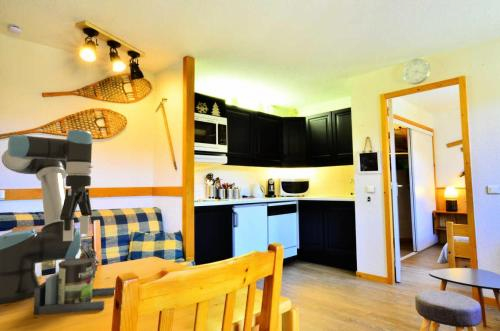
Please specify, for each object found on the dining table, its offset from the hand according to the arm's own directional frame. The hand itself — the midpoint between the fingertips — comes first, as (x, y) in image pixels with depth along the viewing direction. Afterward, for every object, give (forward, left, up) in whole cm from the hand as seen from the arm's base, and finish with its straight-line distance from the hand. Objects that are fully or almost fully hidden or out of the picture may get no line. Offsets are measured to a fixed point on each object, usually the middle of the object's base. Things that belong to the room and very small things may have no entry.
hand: (76, 237), depth 101 cm
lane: (+1, 0, -22) cm, 22 cm away
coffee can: (0, 0, -22) cm, 22 cm away
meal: (-7, +30, -22) cm, 38 cm away
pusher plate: (-6, 0, -22) cm, 23 cm away
